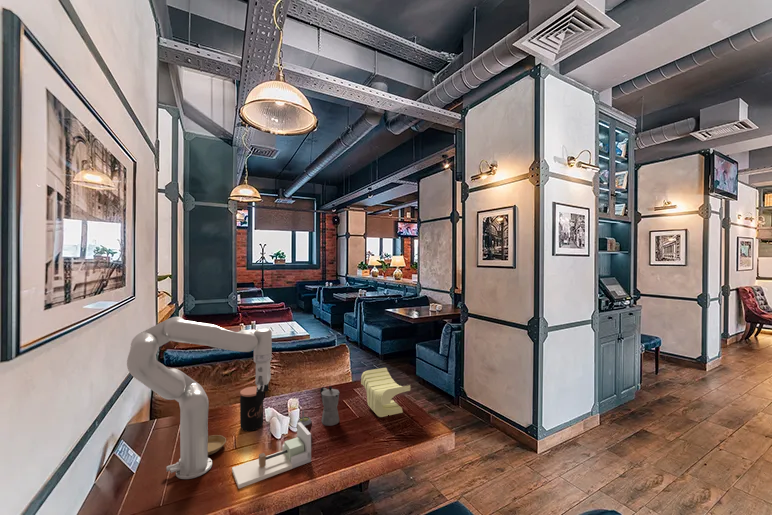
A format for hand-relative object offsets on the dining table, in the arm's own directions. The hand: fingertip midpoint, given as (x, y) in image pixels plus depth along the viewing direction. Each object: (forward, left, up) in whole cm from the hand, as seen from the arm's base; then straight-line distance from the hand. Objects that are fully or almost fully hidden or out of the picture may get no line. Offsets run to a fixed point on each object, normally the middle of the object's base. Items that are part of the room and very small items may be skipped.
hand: (262, 395), depth 150 cm
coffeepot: (+34, +4, -23) cm, 42 cm away
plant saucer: (-21, +11, -23) cm, 33 cm away
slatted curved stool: (+64, -2, -23) cm, 68 cm away
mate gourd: (+18, -3, -23) cm, 30 cm away
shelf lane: (-1, -17, -23) cm, 28 cm away
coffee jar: (0, +21, -23) cm, 31 cm away
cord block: (+3, -17, -21) cm, 27 cm away
